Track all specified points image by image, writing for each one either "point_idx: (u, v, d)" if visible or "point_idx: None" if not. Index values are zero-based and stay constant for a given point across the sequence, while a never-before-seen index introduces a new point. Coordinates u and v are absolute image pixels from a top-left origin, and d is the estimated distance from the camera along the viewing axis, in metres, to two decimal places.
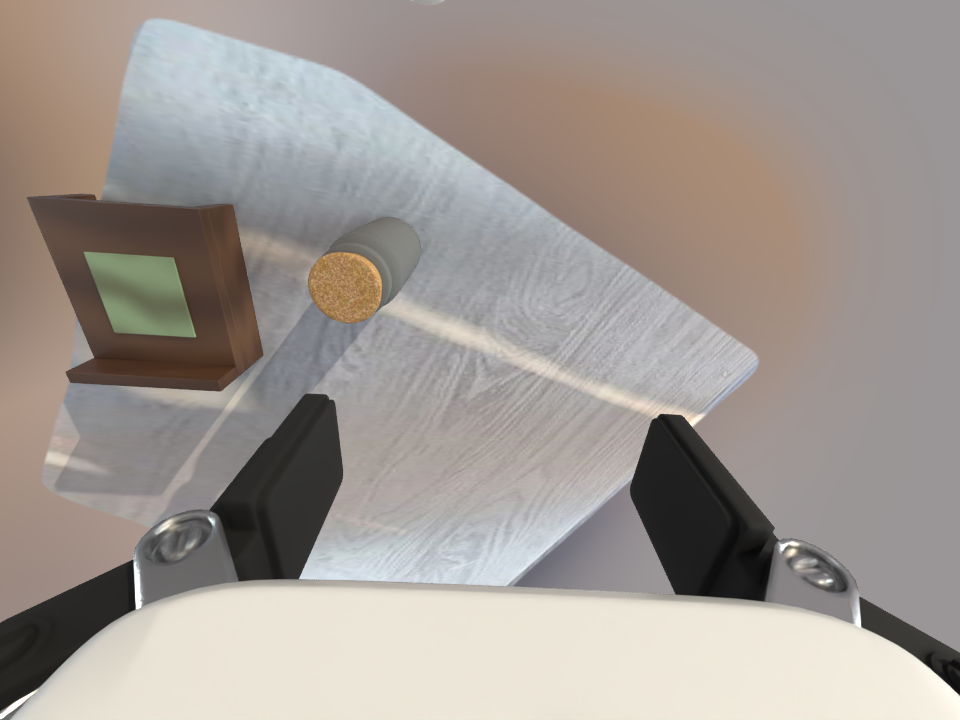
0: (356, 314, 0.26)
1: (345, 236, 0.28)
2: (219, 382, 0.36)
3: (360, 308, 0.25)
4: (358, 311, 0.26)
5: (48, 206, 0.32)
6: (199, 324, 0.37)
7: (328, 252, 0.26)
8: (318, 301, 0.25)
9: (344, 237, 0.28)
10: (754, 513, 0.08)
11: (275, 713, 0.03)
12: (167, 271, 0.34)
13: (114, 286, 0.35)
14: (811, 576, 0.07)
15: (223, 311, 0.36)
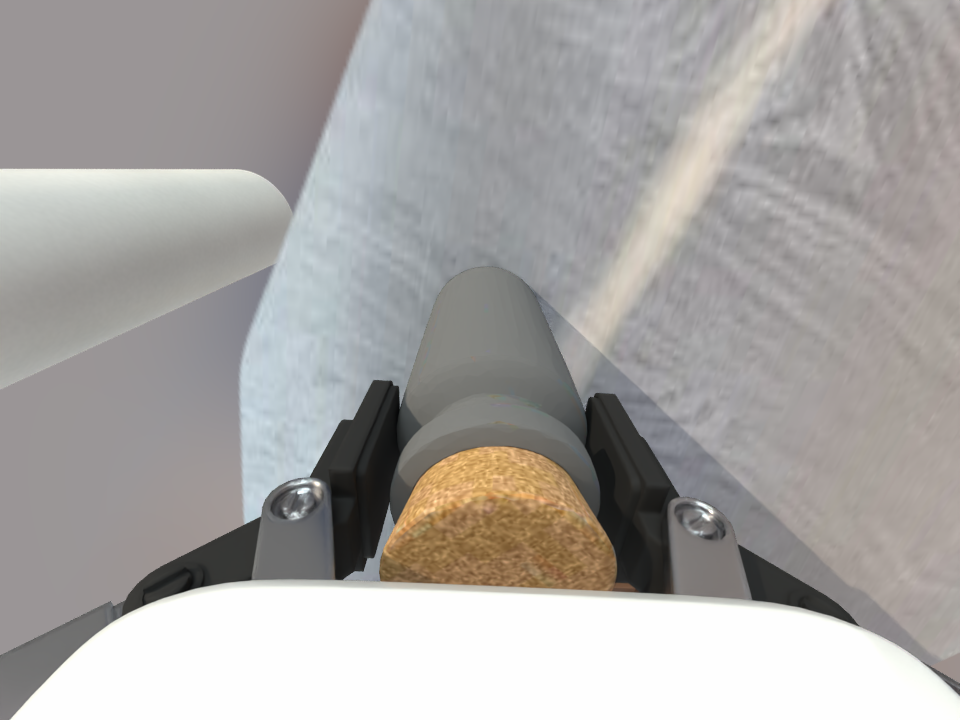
0: (587, 566, 0.07)
1: None
2: None
3: (567, 556, 0.07)
4: (577, 560, 0.07)
5: None
6: None
7: None
8: None
9: None
10: (656, 475, 0.08)
11: (275, 713, 0.03)
12: None
13: None
14: (698, 528, 0.08)
15: None
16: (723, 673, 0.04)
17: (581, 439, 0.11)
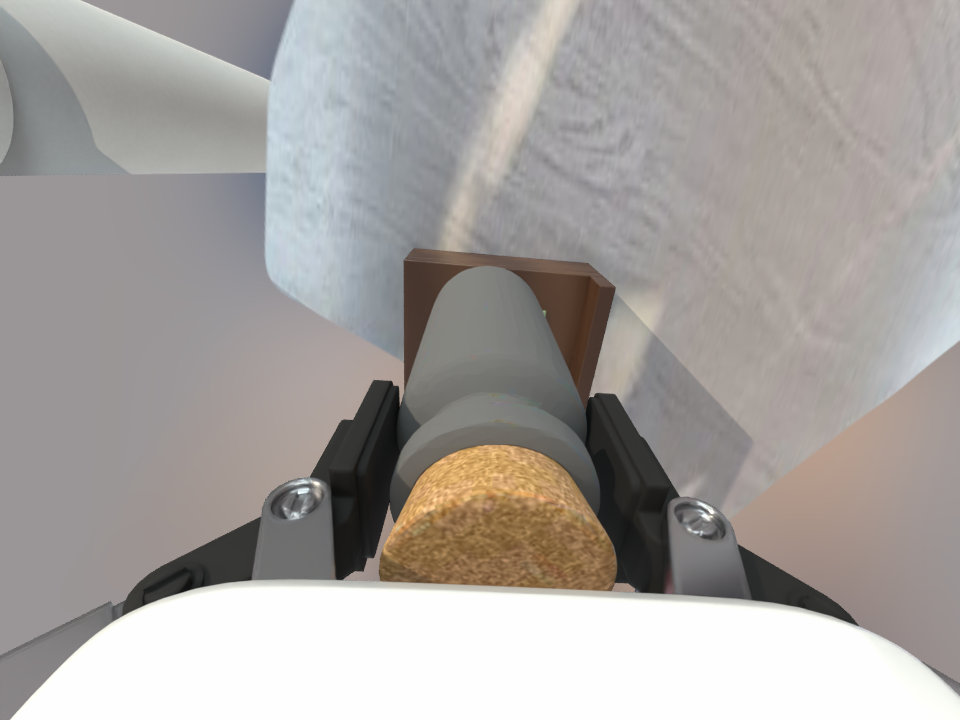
0: (587, 565, 0.07)
1: None
2: (602, 285, 0.28)
3: (567, 554, 0.07)
4: (577, 559, 0.07)
5: None
6: None
7: None
8: None
9: None
10: (655, 475, 0.08)
11: (275, 713, 0.03)
12: None
13: None
14: (698, 528, 0.08)
15: (517, 269, 0.30)
16: (723, 673, 0.04)
17: (581, 438, 0.11)
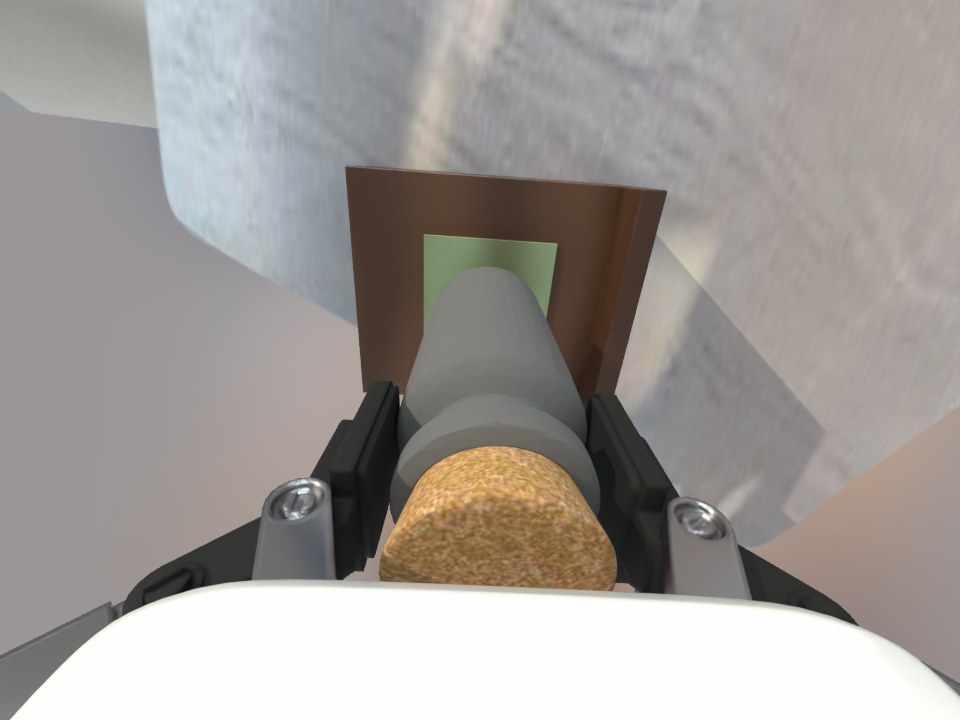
0: (587, 566, 0.07)
1: None
2: (647, 189, 0.18)
3: (567, 556, 0.07)
4: (577, 560, 0.07)
5: (370, 373, 0.26)
6: (535, 230, 0.22)
7: None
8: None
9: None
10: (655, 475, 0.08)
11: (275, 713, 0.03)
12: (445, 250, 0.22)
13: None
14: (699, 529, 0.08)
15: (515, 179, 0.21)
16: (723, 673, 0.04)
17: (581, 439, 0.11)
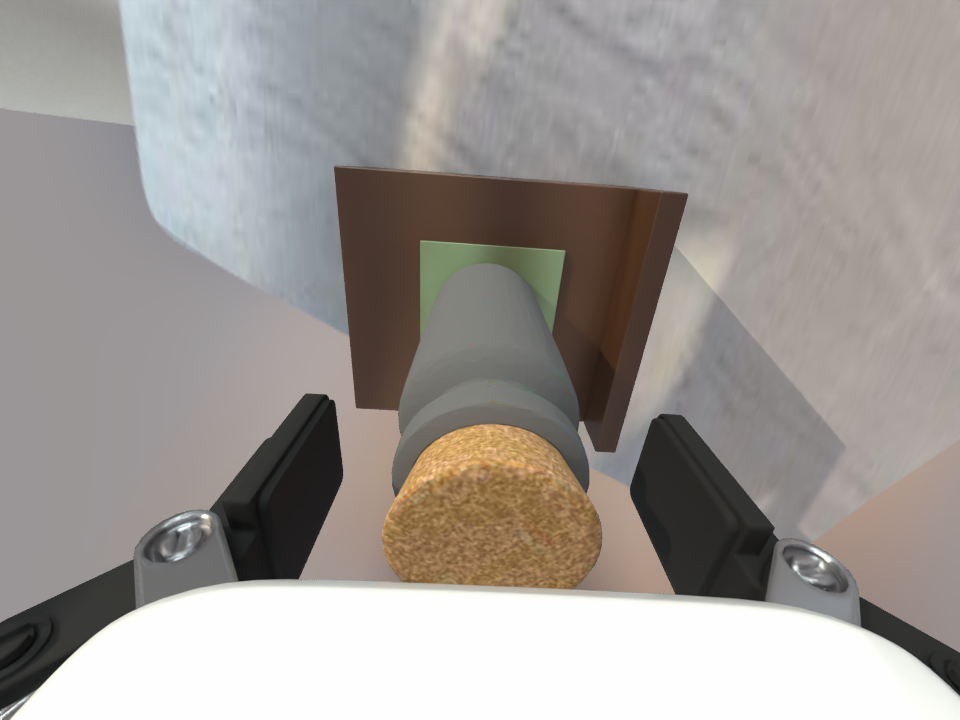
0: (574, 532, 0.08)
1: None
2: (666, 192, 0.16)
3: (555, 522, 0.08)
4: (565, 527, 0.08)
5: (363, 388, 0.24)
6: (541, 236, 0.20)
7: None
8: None
9: None
10: (754, 513, 0.08)
11: (275, 713, 0.03)
12: (443, 257, 0.20)
13: None
14: (811, 576, 0.07)
15: (519, 180, 0.19)
16: (723, 673, 0.04)
17: (573, 423, 0.12)
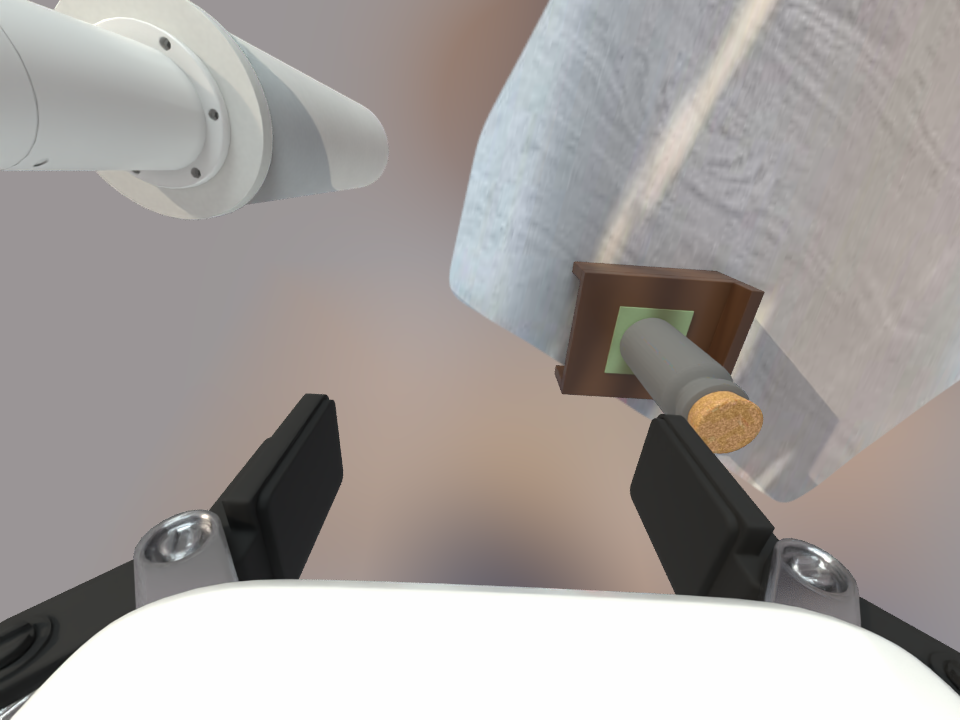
0: (755, 421, 0.27)
1: (662, 404, 0.32)
2: (754, 290, 0.35)
3: (750, 418, 0.27)
4: (753, 420, 0.27)
5: (569, 382, 0.43)
6: (682, 304, 0.39)
7: None
8: (732, 448, 0.28)
9: (662, 405, 0.32)
10: (754, 513, 0.08)
11: (275, 713, 0.03)
12: (630, 314, 0.39)
13: None
14: (811, 576, 0.07)
15: (675, 278, 0.38)
16: (723, 673, 0.04)
17: None
